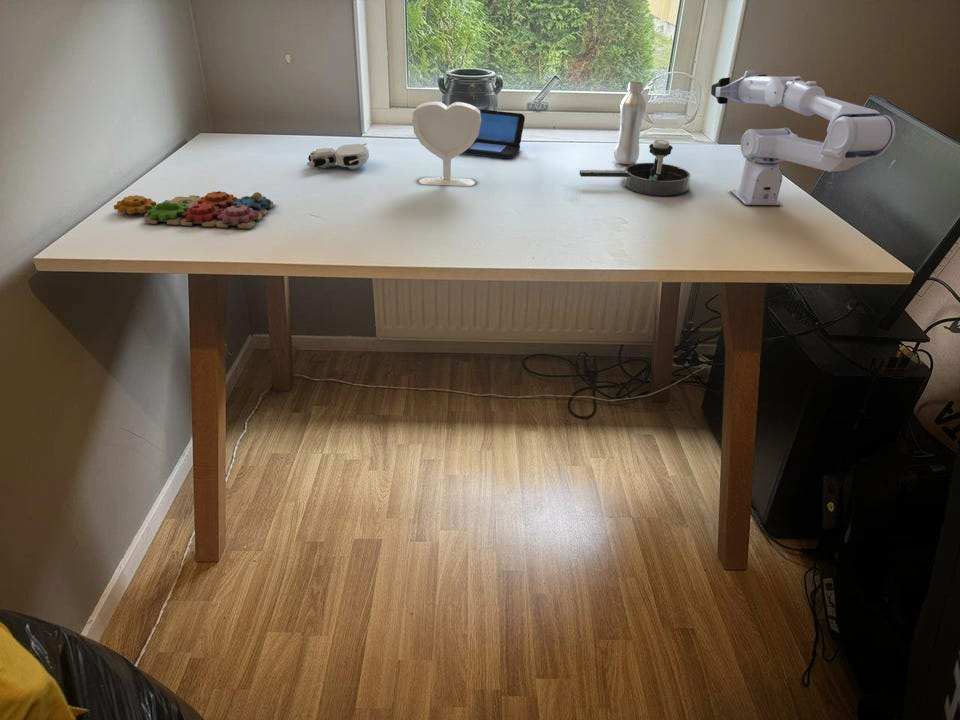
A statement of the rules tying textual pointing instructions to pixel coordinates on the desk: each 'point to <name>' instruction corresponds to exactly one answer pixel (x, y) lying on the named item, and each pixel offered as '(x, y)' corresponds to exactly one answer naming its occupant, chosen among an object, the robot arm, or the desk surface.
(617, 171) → the pan handle
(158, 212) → the gear puzzle
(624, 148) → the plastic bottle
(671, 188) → the pan
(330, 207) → the desk surface
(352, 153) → the robot toy
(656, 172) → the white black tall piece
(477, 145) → the game console
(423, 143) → the heart sculpture
